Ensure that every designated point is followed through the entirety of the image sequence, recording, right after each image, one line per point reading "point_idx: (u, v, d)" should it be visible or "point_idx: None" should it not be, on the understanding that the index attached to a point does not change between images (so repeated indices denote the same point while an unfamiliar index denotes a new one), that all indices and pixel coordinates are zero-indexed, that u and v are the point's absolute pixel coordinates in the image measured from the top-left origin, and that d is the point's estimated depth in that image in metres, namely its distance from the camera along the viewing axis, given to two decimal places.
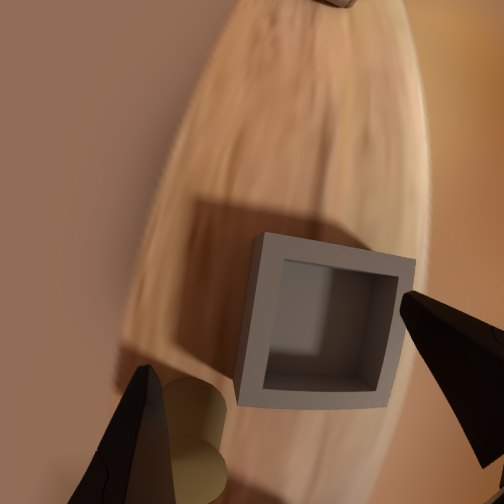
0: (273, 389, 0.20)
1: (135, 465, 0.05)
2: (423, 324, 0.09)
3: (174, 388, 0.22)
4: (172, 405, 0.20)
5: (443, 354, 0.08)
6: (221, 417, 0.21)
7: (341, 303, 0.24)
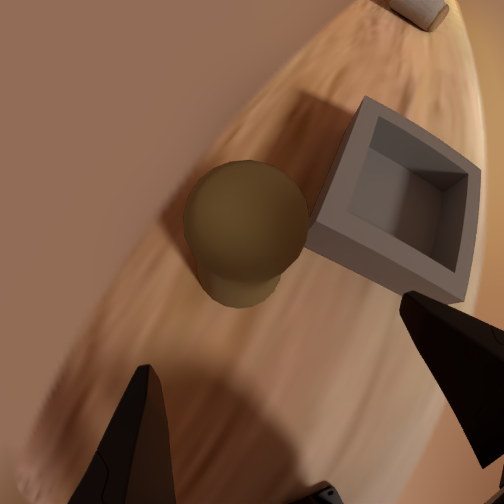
0: (357, 217, 0.18)
1: (135, 465, 0.05)
2: (423, 324, 0.09)
3: None
4: None
5: (443, 354, 0.08)
6: None
7: (415, 202, 0.23)
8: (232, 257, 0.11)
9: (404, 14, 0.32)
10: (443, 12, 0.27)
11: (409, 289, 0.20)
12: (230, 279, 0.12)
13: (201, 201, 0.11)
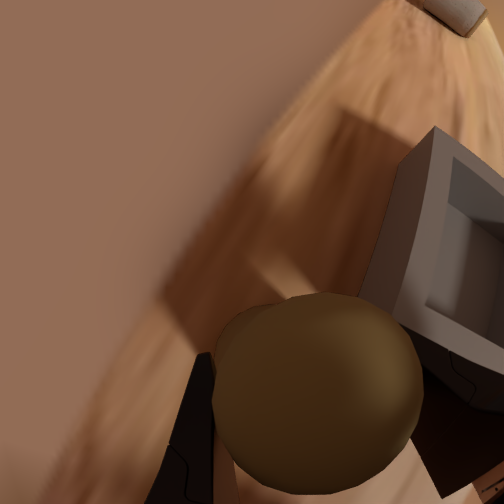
0: (435, 311, 0.12)
1: (214, 455, 0.06)
2: None
3: (266, 306, 0.15)
4: None
5: None
6: None
7: (477, 260, 0.17)
8: (309, 490, 0.05)
9: (440, 16, 0.26)
10: (483, 17, 0.21)
11: None
12: None
13: (253, 410, 0.05)
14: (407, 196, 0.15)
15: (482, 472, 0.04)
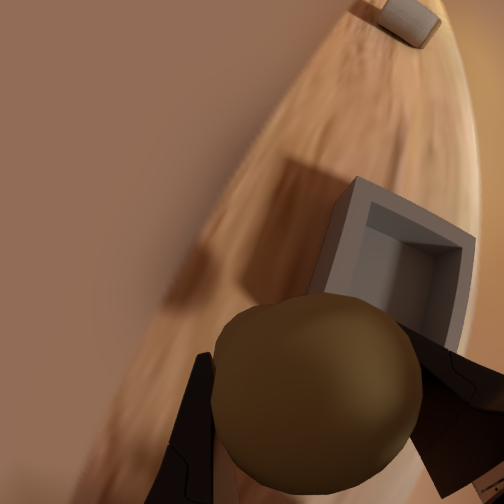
0: None
1: (214, 455, 0.06)
2: None
3: (265, 306, 0.15)
4: None
5: None
6: None
7: (407, 276, 0.24)
8: (308, 490, 0.05)
9: (393, 31, 0.32)
10: (436, 28, 0.27)
11: None
12: None
13: (252, 410, 0.05)
14: (333, 237, 0.22)
15: (482, 472, 0.04)
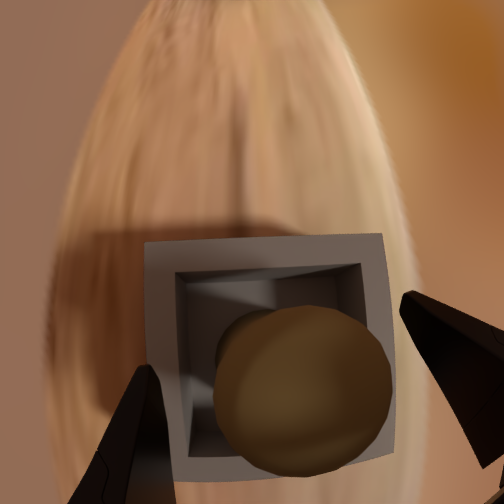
0: (204, 456, 0.12)
1: (135, 465, 0.05)
2: (423, 324, 0.09)
3: (262, 311, 0.16)
4: None
5: (443, 354, 0.08)
6: None
7: None
8: (293, 471, 0.06)
9: None
10: None
11: None
12: None
13: (245, 402, 0.07)
14: None
15: None
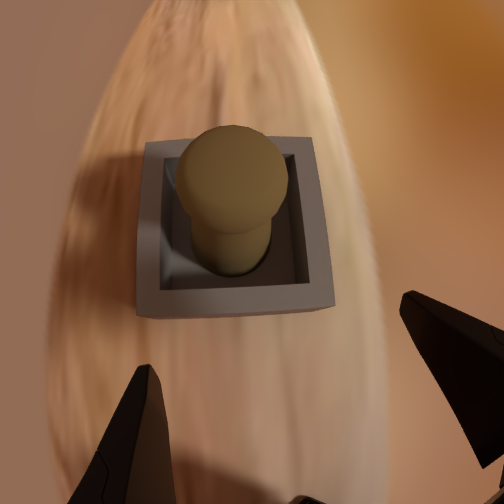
0: (172, 290, 0.18)
1: (135, 465, 0.05)
2: (423, 324, 0.09)
3: None
4: None
5: (443, 354, 0.08)
6: None
7: None
8: (216, 203, 0.12)
9: None
10: None
11: None
12: (215, 227, 0.13)
13: (190, 157, 0.12)
14: None
15: None
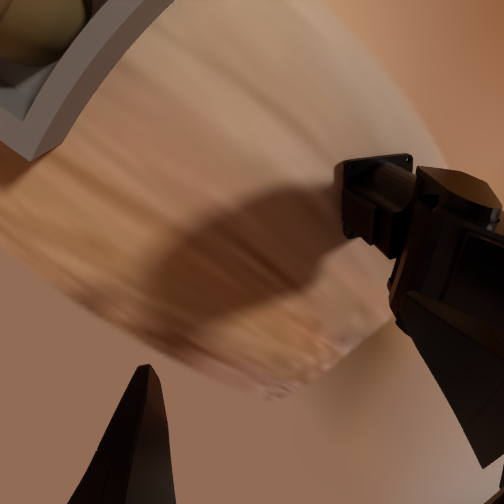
0: (30, 108, 0.10)
1: (135, 465, 0.05)
2: (423, 324, 0.09)
3: None
4: None
5: (443, 354, 0.08)
6: None
7: None
8: None
9: None
10: None
11: (142, 22, 0.12)
12: None
13: None
14: None
15: None
